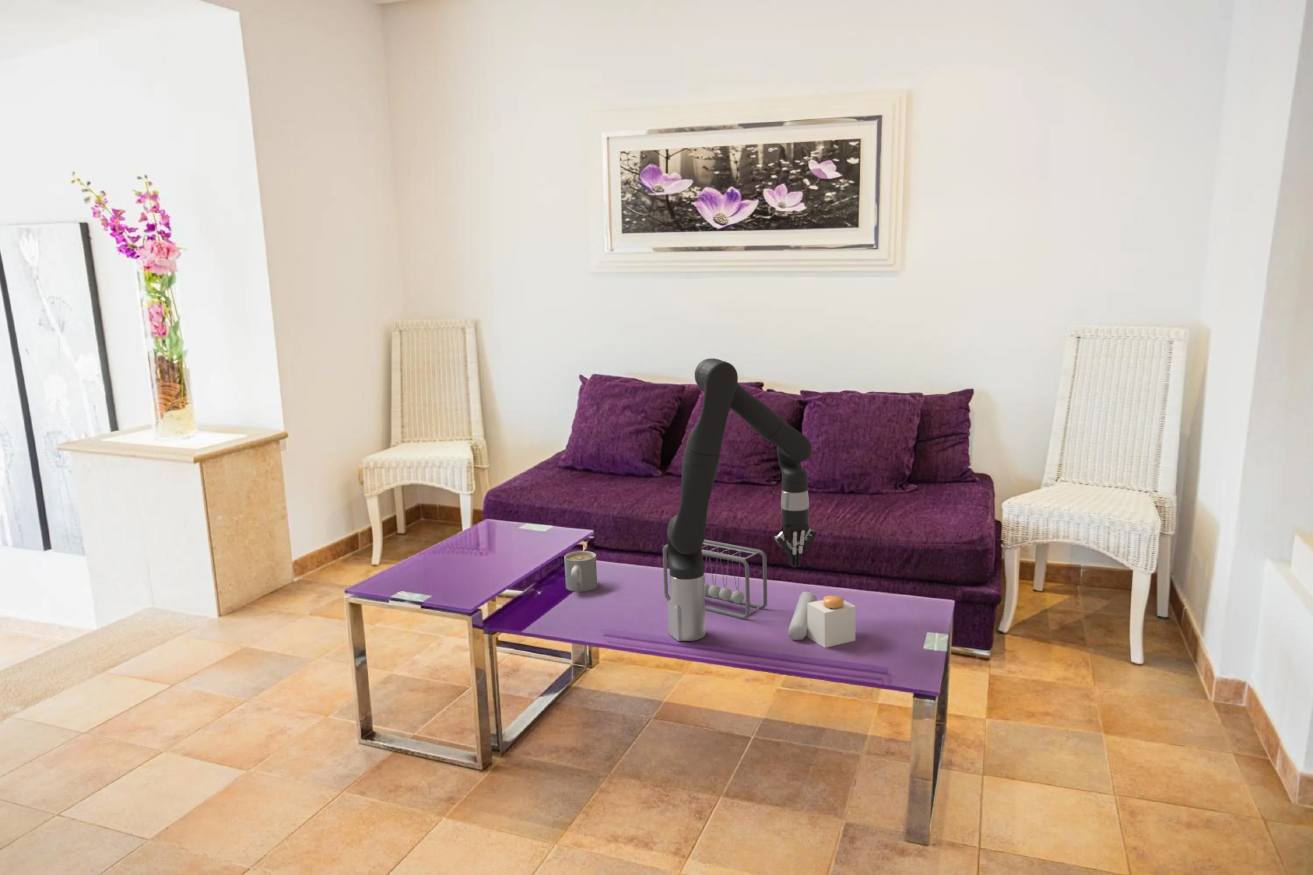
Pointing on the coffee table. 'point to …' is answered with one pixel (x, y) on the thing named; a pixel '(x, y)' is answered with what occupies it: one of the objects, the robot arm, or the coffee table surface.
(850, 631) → the housing
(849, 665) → the coffee table surface
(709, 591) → the newton's cradle
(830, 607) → the orange rounded lump
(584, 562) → the coffee mug
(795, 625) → the tube
